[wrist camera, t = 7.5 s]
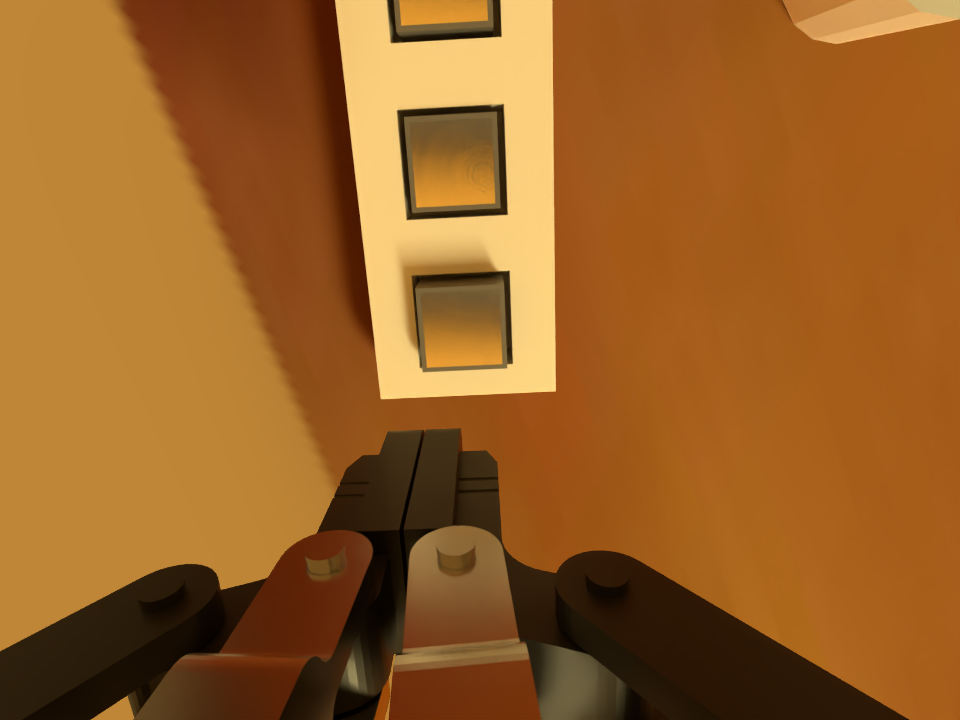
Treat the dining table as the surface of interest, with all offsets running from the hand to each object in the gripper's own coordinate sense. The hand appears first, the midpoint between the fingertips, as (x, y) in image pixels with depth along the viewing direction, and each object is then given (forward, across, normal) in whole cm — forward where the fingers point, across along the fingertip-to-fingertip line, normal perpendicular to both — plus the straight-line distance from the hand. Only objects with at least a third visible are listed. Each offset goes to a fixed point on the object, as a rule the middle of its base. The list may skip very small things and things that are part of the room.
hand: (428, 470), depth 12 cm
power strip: (+17, 0, -9) cm, 19 cm away
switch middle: (+15, 0, -6) cm, 17 cm away
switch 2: (+14, 0, 0) cm, 14 cm away
